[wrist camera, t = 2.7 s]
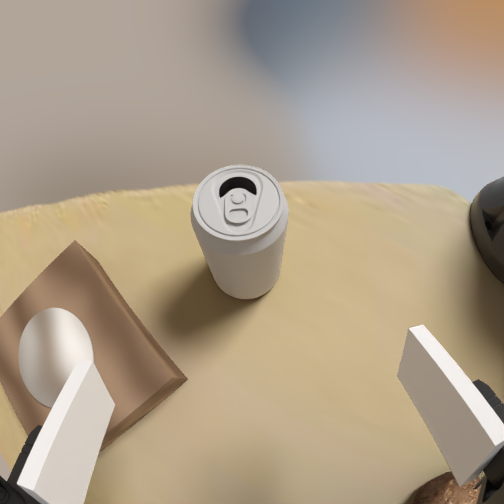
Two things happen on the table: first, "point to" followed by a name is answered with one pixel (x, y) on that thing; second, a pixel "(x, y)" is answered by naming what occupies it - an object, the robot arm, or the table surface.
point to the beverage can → (241, 228)
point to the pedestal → (80, 345)
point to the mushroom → (448, 491)
